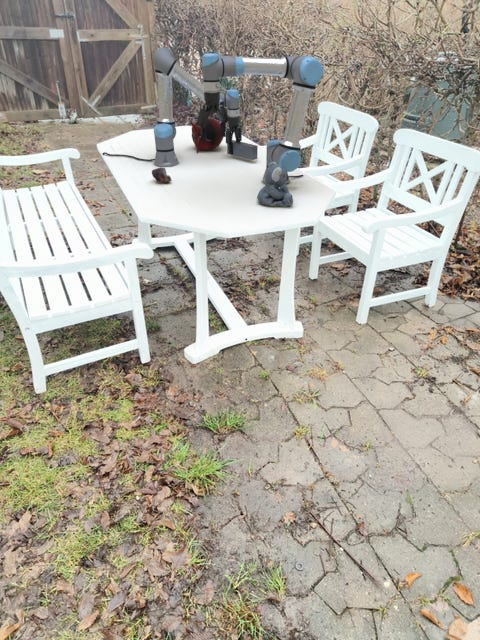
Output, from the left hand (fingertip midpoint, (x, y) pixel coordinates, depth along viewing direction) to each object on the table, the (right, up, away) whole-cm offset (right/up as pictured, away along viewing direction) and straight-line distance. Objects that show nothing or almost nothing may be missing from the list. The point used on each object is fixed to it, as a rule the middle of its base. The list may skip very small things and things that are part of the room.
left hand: (234, 153), depth 304 cm
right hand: (-9, -23, -81) cm, 84 cm away
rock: (-42, -32, -42) cm, 67 cm away
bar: (+5, -4, -4) cm, 8 cm away
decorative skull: (-19, +11, +21) cm, 31 cm away
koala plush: (+22, -52, -71) cm, 91 cm away
